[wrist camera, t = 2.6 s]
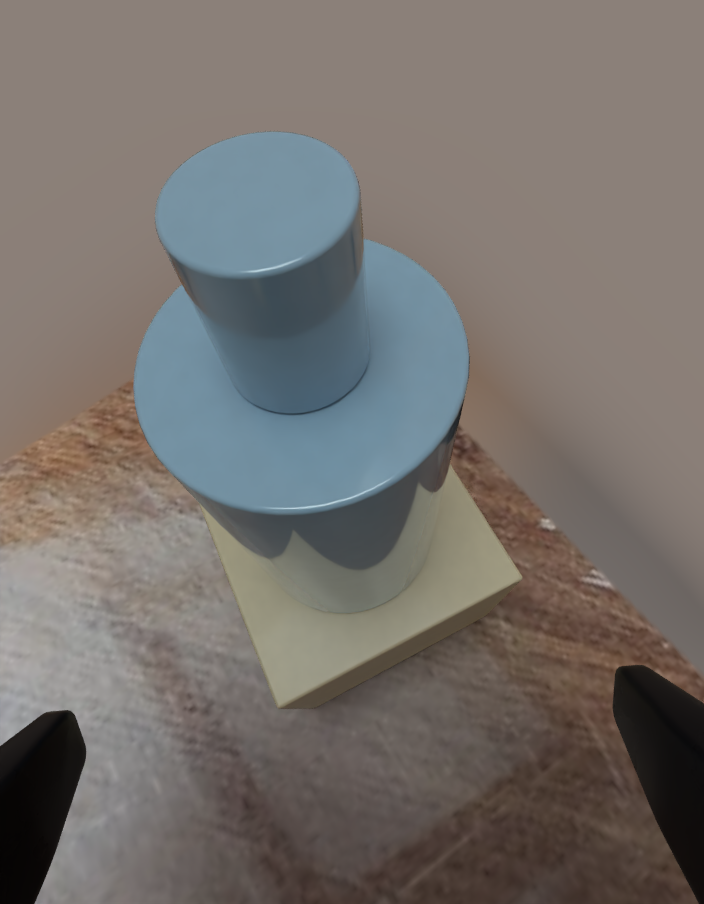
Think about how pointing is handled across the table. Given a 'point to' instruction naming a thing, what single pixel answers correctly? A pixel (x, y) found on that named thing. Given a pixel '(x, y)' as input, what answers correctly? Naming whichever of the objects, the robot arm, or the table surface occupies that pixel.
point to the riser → (378, 629)
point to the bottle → (301, 371)
